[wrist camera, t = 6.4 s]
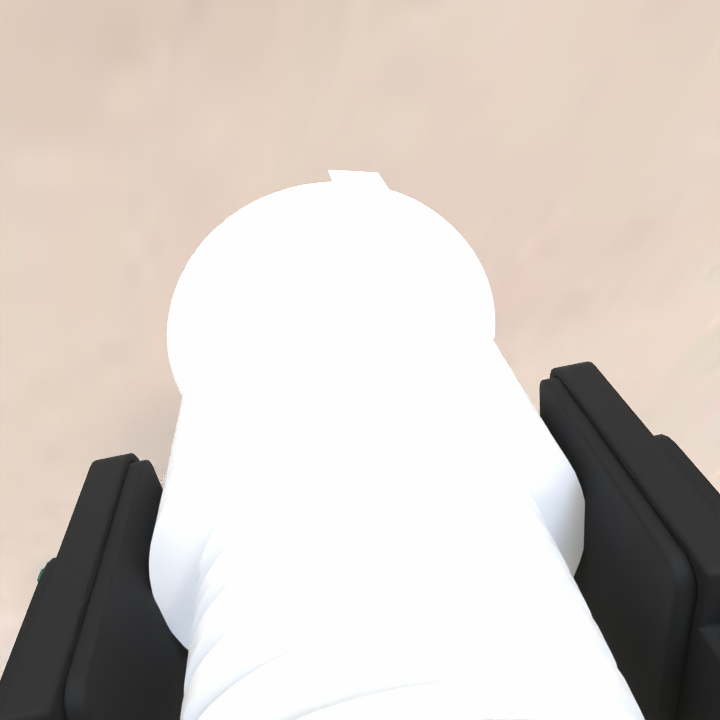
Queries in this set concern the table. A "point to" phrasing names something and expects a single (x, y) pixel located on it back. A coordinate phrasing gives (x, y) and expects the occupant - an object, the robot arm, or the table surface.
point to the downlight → (365, 481)
